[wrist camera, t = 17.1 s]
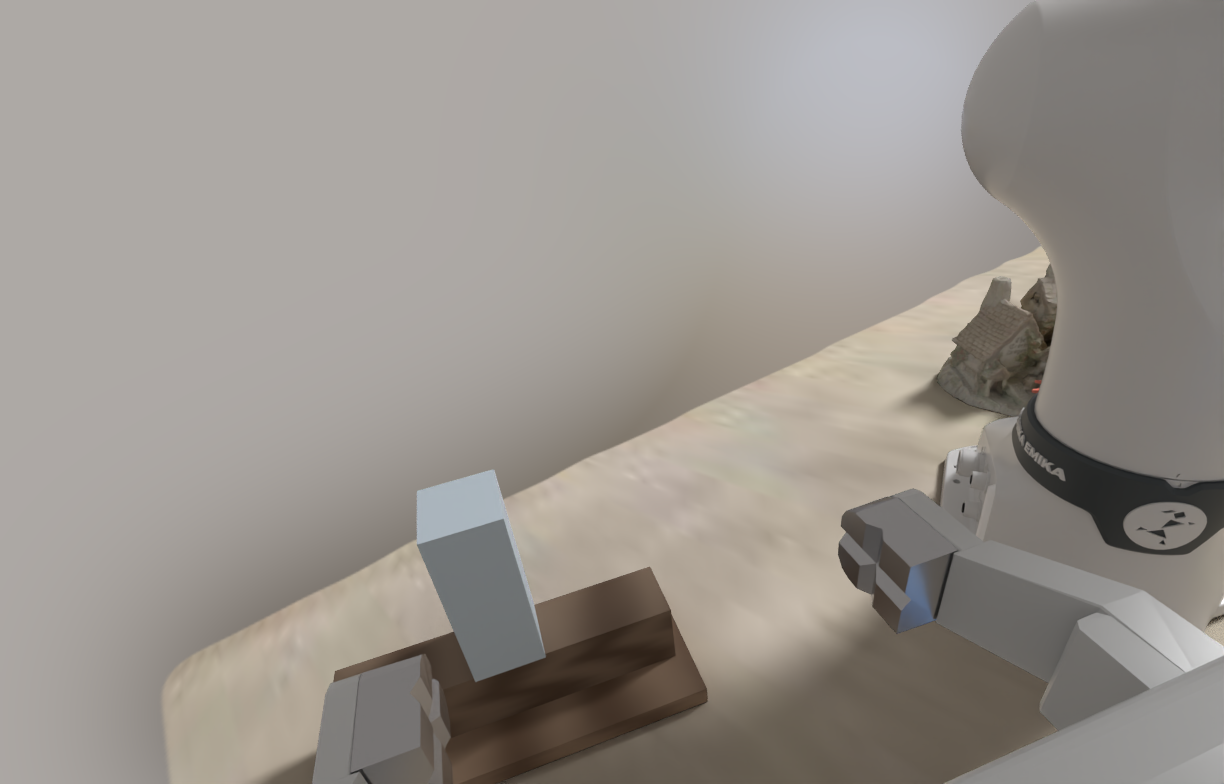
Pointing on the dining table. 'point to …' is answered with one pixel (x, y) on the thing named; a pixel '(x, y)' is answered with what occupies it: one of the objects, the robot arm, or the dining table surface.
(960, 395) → the ceramic cottage
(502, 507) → the pillar
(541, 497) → the dining table surface
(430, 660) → the stand
